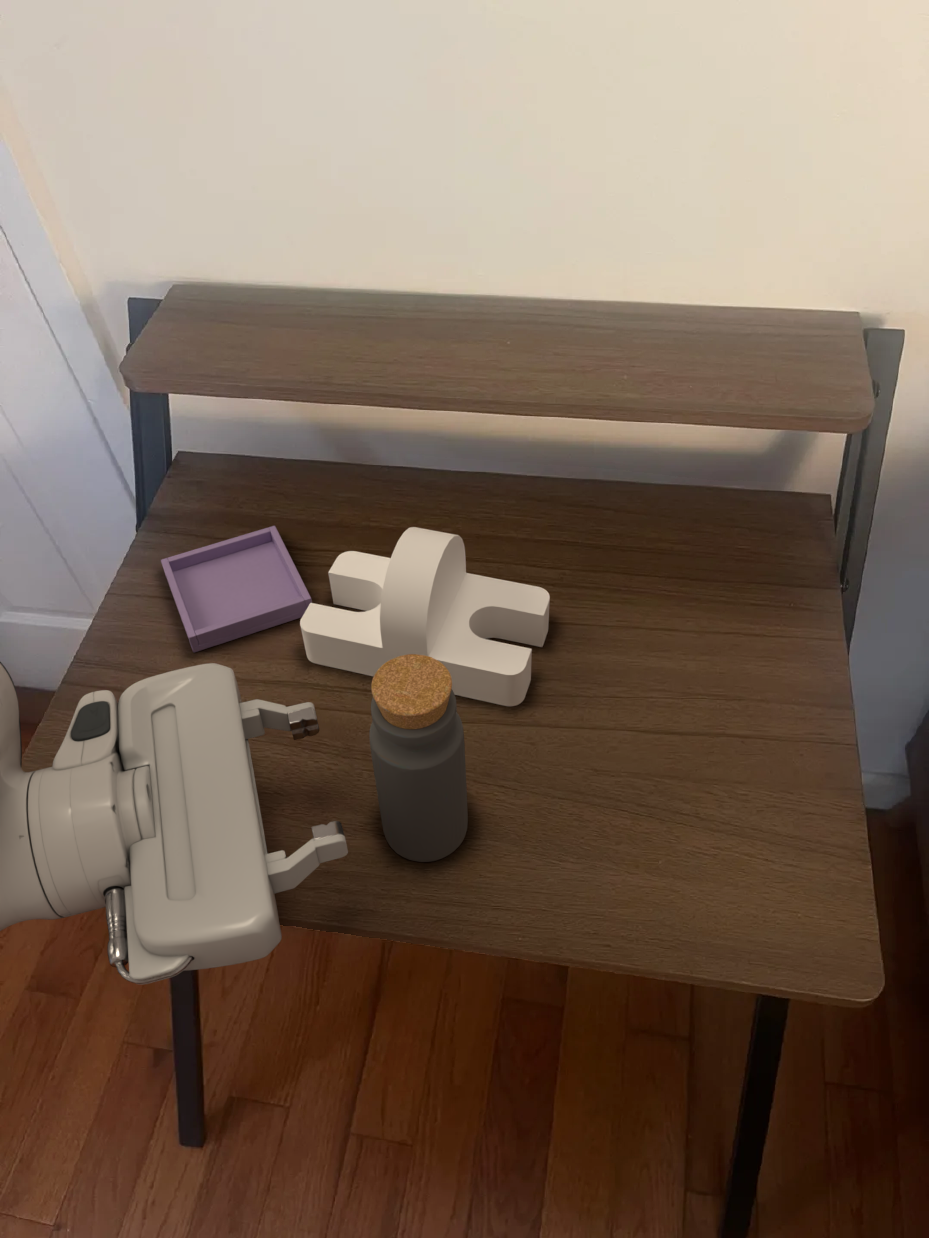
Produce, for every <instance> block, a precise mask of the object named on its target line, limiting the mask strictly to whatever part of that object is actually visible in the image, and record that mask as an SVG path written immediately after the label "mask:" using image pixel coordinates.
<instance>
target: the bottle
mask: <svg viewBox="0 0 929 1238" xmlns="http://www.w3.org/2000/svg"><path fill="white" fill-rule="evenodd" d="M370 685H371V686H370V688H371V695H372V698H371V702H370V715H371V718H372V719H371V720H372V721H371V724H370V728H369V738H368V739H369V748H370V757H371V761H372V769H373V775H374V781H375V782H374V783H375V789H376V794H377V802H378V807H379V813H380V820H381V825H382V831H383V834H384V838H385V841H386V842H387V844H388V846H389V847H390V848H391V849H392V850H393V852H395V853H396V854H397V855H399V856H401V857H402V858H404V859H406V860H409V861H414V862H418V863H419V862H420V863H430V862H435V861H439V860H441V859H444V858H446V857H448V856H449V855H451V854H452V853H454V852H455V851H456V850H457V849H458V848H459V847H460V846H461V844H463V841H464V840H465V837H466V836H467V831H468V824H469V823H468V821H469V816H468V814H469V813H468V812H469V811H468V789H467V788H468V786H467V785H468V784H467V767H466V746H465V732H464V725H463V722H462V719H461V716H460V714H459V713H458V712H457V710H458V706H457V698H456V695H455V694H454V692H453V690H452V678H451V675H450V673H449V671H448V669H447V668H446V667H445V666H444V665H443V664H442V663H441V662H439V661H438V660H436V659H434V658H432V657H429V656H425V655H419V654H407V655H402V656H399V657H396V658H393V659H391V660H389V661H388V662H386V663H385V664H383V665H382V666H381V667H380V668H379V669H378V670H377V672H376V673H375V675H374V676H372V679H371V684H370Z"/></svg>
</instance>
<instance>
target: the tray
mask: <svg viewBox="0 0 929 1238" xmlns="http://www.w3.org/2000/svg"><path fill="white" fill-rule="evenodd" d="M160 563H161V565H162V568H163V572H164V575H165V578H166V581H167V583H168V586H169V589H170V591H171V594H172V597H173V600H174V603H175V605H176V609H177V612H178V615H179V617H180V620H181V622H182V625H183V627H184V630H185V633H186V636H187V638H188V641H189V645H190V647H191V650H192V652H193V653H197V652H200V651H204V650H206V649H209V648H213V647H215V646H218V645H219V646H220V645H221V644H225V643H228V642H230V641H234V640H237V639H240V638H242V637H243V638H244V637H246V636H250V635H252V634H255V633H258V632H261V631H265V630H267V629H271V628H273V627H277V626H279V625H283V624H286V623H289V622H292V621H295V620H298V619H301V618H302V616H303V615H304V613H305V611H306V610H307V608H308V606H309V604H310V603H313V600H312V597H311V595H310V593H309V591H308V588H307V587H306V584H305V583H304V581H303V579H302V577H301V575H300V573H299V571H298V569H297V567H296V565H295V563H294V561H293V559H292V557H291V555H290V553H289V551H288V549H287V546H286V544H285V542H284V541H283V539H282V537H281V534H280V533H279V531H278V529H277V526H276V525H271V526H269V527H265V528H262V529H259V530H255V531H252V532H249V533H245V534H241V535H239V536H235V537H231V538H229V539H224V540H222V541H218V542H215V543H211V544H208V545H205V546H202V547H198V548H195V549H192V550H188V551H185V552H182V553H178V554H175V555H171V556H168V557H165V558H162V559H160Z"/></svg>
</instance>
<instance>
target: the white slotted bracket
mask: <svg viewBox="0 0 929 1238" xmlns="http://www.w3.org/2000/svg"><path fill="white" fill-rule="evenodd" d="M466 556H467V555H466V547H465V543H464V540H463V538H462V537H461V535H459V534H455V533H449V532H445V531H444V532H443V531H439V530H434V529H427V528H422V527H416V526H411V527H408V528H407V529H405V531H403V533H402V534H401V536H400V537H399V539H398V540H397V542H396V544H395V547H394V548H393V551H392V553H391V556H390V557H387V556H382V555H376V554H372V553H368V552H367V553H366V552H361V551H356V550H348V551H344V552H341V553H340V554H339V555H338V556H336V558H335V560H334V562H333V563H332V565H331V567H330V569H329V570H328V572H327V575H328V579H329V585H330V586H329V587H330V592H331V597H332V598H331V599H332V603H333V605H337V606H342V607H347V608H352V609H357V610H361V611H353V610H347V609H343V608H338V607H332V606H330V605H325V604H324V605H323V604H318V603H314V602H312V603H310V604H309V606H308V608H307V610H306V611H305V613H304V615H303V616H302V617H301V618H300V619H299V620H300V621H299V626H300V631H301V635H302V640H303V645H304V650H305V654H306V658H307V660H308V661H309V662H310V663H312V664H316V665H320V666H325V667H328V668H329V667H330V668H333V669H337V670H343V671H348V672H352V673H357V674H361V675H365V676H369V677H374V675H375V673H376V672H377V670H378V669H379V668H380V667H381V666H382V665H383V664H385V663H386V662H388V661H389V660H391V659H393V658H396V657H399V656H402V655H407V654H419V655H425V656H429V657H432V658H434V659H436V660H438V661H439V662H441V663H442V664H443V665H444V666H445V667H446V668H447V669H448V671H449V673H450V675H451V678H452V690H453V692H454V694H455V696H459V697H463V698H469V699H473V700H477V701H481V702H485V703H490V704H496V705H498V706H499V705H500V706H504V707H515V706H518V705H520V704H521V703H523V702H524V700H525V698H526V695H527V693H528V690H529V687H530V684H531V681H532V654H533V653H532V652H533V648H530V647H524V646H520V645H515V644H509V643H505V642H501V641H496V640H492V639H500V640H505V641H510V642H513V643H514V642H515V643H520V644H524V645H529V646H534V647H539V648H543V646H544V644H545V641H546V639H547V635H548V632H549V625H550V623H549V622H550V603H551V602H550V599H551V596H550V593H549V592H548V591H547V590H546V589H545V588H543V587H540V586H538V585H537V586H536V585H533V584H532V585H531V584H526V583H520V582H516V581H511V580H506V579H500V578H495V577H490V576H484V575H480V574H474V573H470V572H467V561H466V559H467V557H466Z"/></svg>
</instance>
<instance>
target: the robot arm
mask: <svg viewBox="0 0 929 1238" xmlns="http://www.w3.org/2000/svg"><path fill="white" fill-rule="evenodd" d="M240 691H241V690H240V688H239V684H238V681H237V678H236V674H235V672H234V669H233V668H231V667H229V666H226V665H222V664H219V663H216V662H210V663H209V662H208V663H202V664H197V665H192V666H188V667H183V668H179V669H175V670H171V671H167V672H163V673H159V674H156V675H152V676H149V677H146V678H144V679H141V680H139V681H136V682H135V683H133V684H131V685H130V686H128V687H127V688H126V689H124V690H123V692H122V693H121V695H120V697H119V699H118V701H117V698H116V695H114V693H113V692H112V691H111V690H107V689H102V690H96V691H91V692H88V693H86V694H84V695H83V696H82V697H81V698H80V699H79V701H78V703H77V705H76V708H75V711H74V713H73V716H72V719H71V721H70V723H69V726H68V729H67V731H66V734H65V736H64V738H63V740H62V743H60V747H59V748H58V751H57V752H56V754H55V756H54V758H53V760H52V766H48V767H43V768H41V769H36V770H32V771H24V770H23V768H22V765H23V763H22V762H23V746H22V745H23V742H22V741H23V740H22V728H21V727H22V726H21V715H20V706H19V697H18V693H17V689H16V685H15V682H14V681H13V678H12V676H11V675H10V672H9V671H8V669H7V668H6V667H5V665H4V664H3V663H2V662H1V661H0V932H1V931H3V930H4V929H7V928H8V927H10V926H13V925H16V924H19V923H23V922H26V921H32V920H45V921H46V920H51V921H52V920H60V919H65V918H69V917H73V916H76V915H81V914H85V913H88V912H92V911H97V910H101V909H103V908H105V919H106V925H107V932H108V941H107V945H106V946H107V949H106V951H107V952H106V953H107V958H108V963H109V965H110V967H112V968H116V970H117V972H118V974H119V975H120V976H121V978H123V979H124V980H125V981H126V982H129V983H132V984H136V985H149V984H152V983H156V982H160V981H163V980H167V979H171V978H174V977H175V976H178V975H179V974H181V973H183V972H185V971H197V970H206V969H215V968H221V967H227V966H233V965H238V964H244V963H248V962H254V961H257V960H261V959H263V958H266V957H268V956H269V955H270V954H271V953H272V952H273V950H275V948H276V947H277V946H278V945H279V944H280V942H281V940H282V939H283V938H282V937H283V936H282V929H281V924H280V918H279V912H278V906H277V900H276V894H279V893H281V892H282V893H283V892H286V891H290V890H294V889H296V887H298V886H299V885H300V884H301V883H302V882H303V881H304V880H305V879H306V878H308V877H309V876H310V875H311V874H312V873H313V872H314V871H316V869H317V868H318V867H319V866H320V864H322V863H327V862H331V861H335V860H338V859H341V858H345V856H347V855H348V854H349V850H348V843H347V839H346V836H345V835H346V834H345V832H344V827H343V824H342V822H341V821H340V820H334V821H329V823H327V824H324V823H320V824H318V825H313V826H311V832H312V838H311V839H309V840H308V841H307V842H306V843H305V844H303V845H301V847H299V848H298V849H296V851H294V852H292V853H291V854H290V855H289V856H287V854H286V851H285V850H283V849H281V850H278V851H274V852H270V853H269V852H268V847H267V841H266V836H265V829H264V824H263V823H264V822H263V818H262V817H263V816H262V812H261V805H260V799H259V794H258V788H257V783H256V782H257V781H256V776H255V771H254V766H253V760H252V753H251V747H250V741H249V740H250V739H254V738H258V737H262V736H264V735H265V734H266V731H265V729H270V730H271V729H272V730H277V731H284V732H291V734H292V739H293V741H297V740H301V739H305V738H306V737H314V736H317V735H318V734H319V733H320V725H319V720H318V716H317V712H316V707H315V704H314V703H313V702H311V701H310V702H309V701H305V702H301V703H298V704H293V705H289V706H286V705H285V704H281V703H276V702H272V701H267V700H265V699H264V700H263V699H258V698H256V699H251V700H247V701H242V695H241V692H240ZM127 965H128V969H127V968H126V966H127Z"/></svg>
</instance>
